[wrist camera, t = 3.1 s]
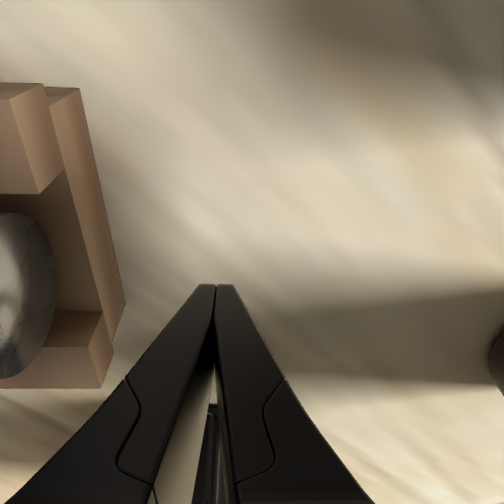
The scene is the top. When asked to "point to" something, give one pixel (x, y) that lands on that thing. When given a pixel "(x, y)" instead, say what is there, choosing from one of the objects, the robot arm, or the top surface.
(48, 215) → the beam
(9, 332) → the axle
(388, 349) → the top surface
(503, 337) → the bottle
